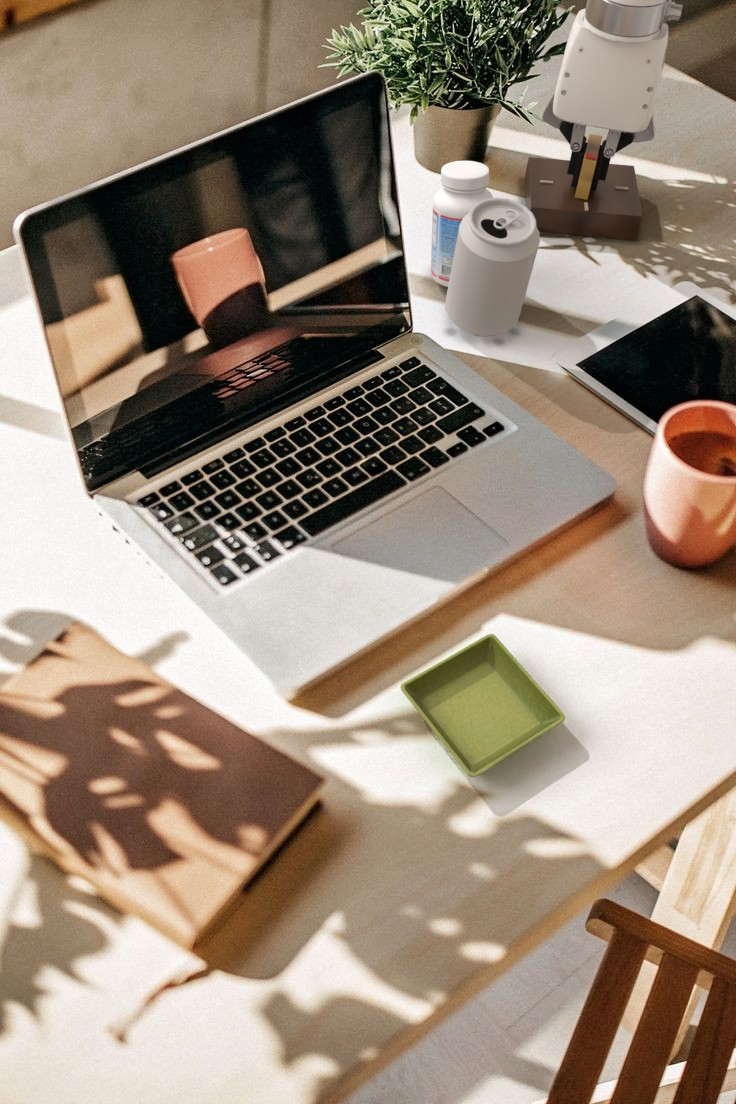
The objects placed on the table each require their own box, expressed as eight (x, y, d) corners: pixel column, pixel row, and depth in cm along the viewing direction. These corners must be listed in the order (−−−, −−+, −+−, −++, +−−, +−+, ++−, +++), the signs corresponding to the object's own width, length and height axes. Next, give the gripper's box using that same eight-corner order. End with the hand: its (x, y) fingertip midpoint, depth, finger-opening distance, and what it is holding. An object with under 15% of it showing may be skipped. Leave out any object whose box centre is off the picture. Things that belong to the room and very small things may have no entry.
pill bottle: (501, 278, 106) (510, 170, 99) (458, 297, 103) (464, 186, 96) (460, 258, 110) (467, 152, 102) (418, 275, 107) (421, 167, 99)
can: (428, 309, 103) (444, 212, 93) (481, 277, 106) (502, 179, 96) (481, 353, 100) (503, 259, 90) (533, 319, 103) (561, 224, 93)
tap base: (627, 189, 119) (634, 164, 117) (635, 240, 113) (642, 215, 111) (524, 180, 119) (528, 155, 117) (526, 231, 113) (531, 205, 111)
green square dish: (562, 732, 75) (568, 718, 73) (468, 792, 71) (471, 779, 70) (488, 646, 79) (492, 631, 77) (395, 700, 76) (397, 685, 74)
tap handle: (580, 171, 116) (590, 131, 112) (593, 173, 115) (602, 133, 112) (574, 197, 112) (583, 157, 109) (587, 200, 112) (597, 160, 108)
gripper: (709, 6, 101) (658, 177, 115) (550, -20, 102) (520, 152, 117) (705, 40, 96) (653, 214, 110) (539, 13, 98) (509, 187, 112)
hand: (585, 181), depth 113 cm, fingers closed
